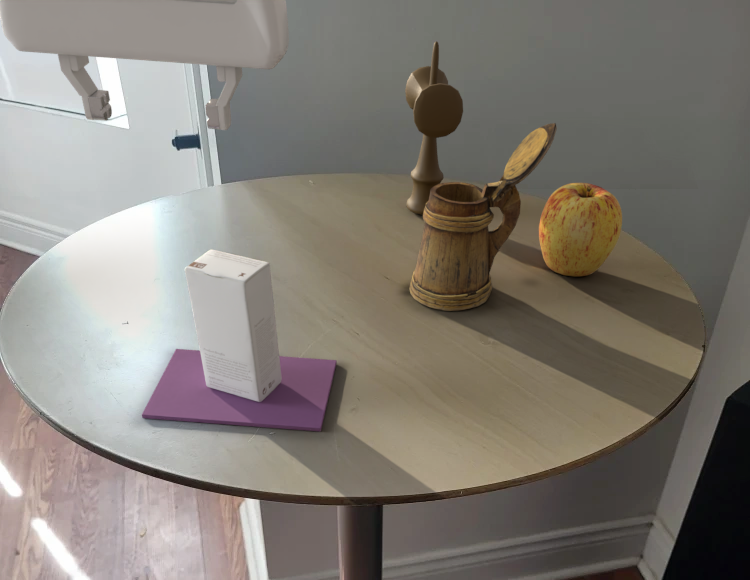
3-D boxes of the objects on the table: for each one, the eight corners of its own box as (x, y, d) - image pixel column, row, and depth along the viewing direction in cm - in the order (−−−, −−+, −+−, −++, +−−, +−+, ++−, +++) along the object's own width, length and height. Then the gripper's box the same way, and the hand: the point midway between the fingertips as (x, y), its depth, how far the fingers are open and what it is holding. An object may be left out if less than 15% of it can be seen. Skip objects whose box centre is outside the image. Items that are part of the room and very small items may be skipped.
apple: (607, 257, 95) (628, 174, 88) (610, 292, 88) (633, 205, 82) (533, 250, 96) (547, 167, 89) (530, 283, 89) (545, 197, 83)
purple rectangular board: (142, 418, 69) (141, 414, 69) (176, 352, 77) (175, 348, 77) (320, 431, 68) (320, 428, 68) (336, 363, 76) (336, 359, 76)
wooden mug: (536, 311, 85) (568, 138, 72) (413, 311, 84) (424, 136, 72) (521, 273, 91) (548, 109, 79) (406, 273, 90) (416, 107, 78)
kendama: (407, 226, 100) (417, 52, 87) (397, 196, 107) (405, 31, 94) (453, 225, 101) (470, 51, 87) (440, 195, 108) (454, 31, 94)
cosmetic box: (283, 381, 73) (275, 259, 65) (259, 406, 70) (247, 282, 62) (227, 365, 75) (212, 244, 66) (201, 389, 72) (182, 266, 63)
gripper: (-51, -108, 49) (10, 126, 58) (271, -87, 48) (280, 146, 57) (-6, -118, 53) (44, 100, 63) (289, -99, 52) (295, 119, 62)
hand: (159, 122), depth 60 cm, fingers open, 8 cm apart
